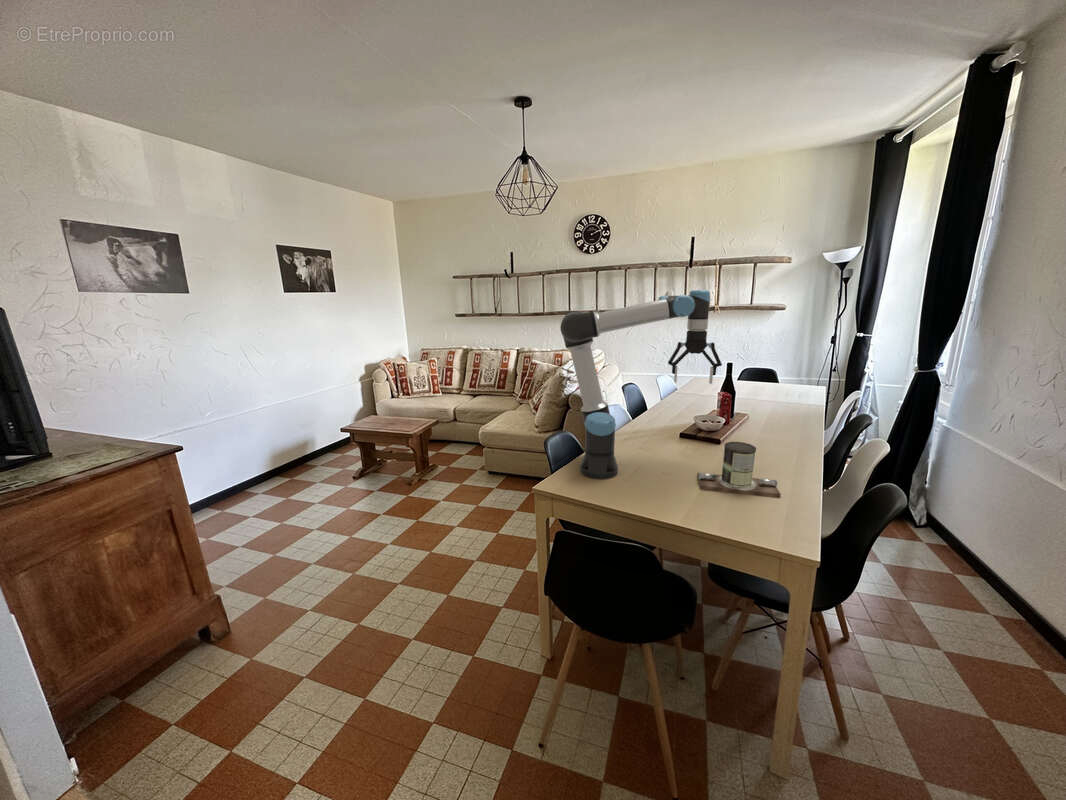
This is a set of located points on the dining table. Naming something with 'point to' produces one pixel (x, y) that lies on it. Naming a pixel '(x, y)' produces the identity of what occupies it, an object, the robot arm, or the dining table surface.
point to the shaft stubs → (761, 481)
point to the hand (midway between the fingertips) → (692, 382)
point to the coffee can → (738, 464)
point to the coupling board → (752, 490)
